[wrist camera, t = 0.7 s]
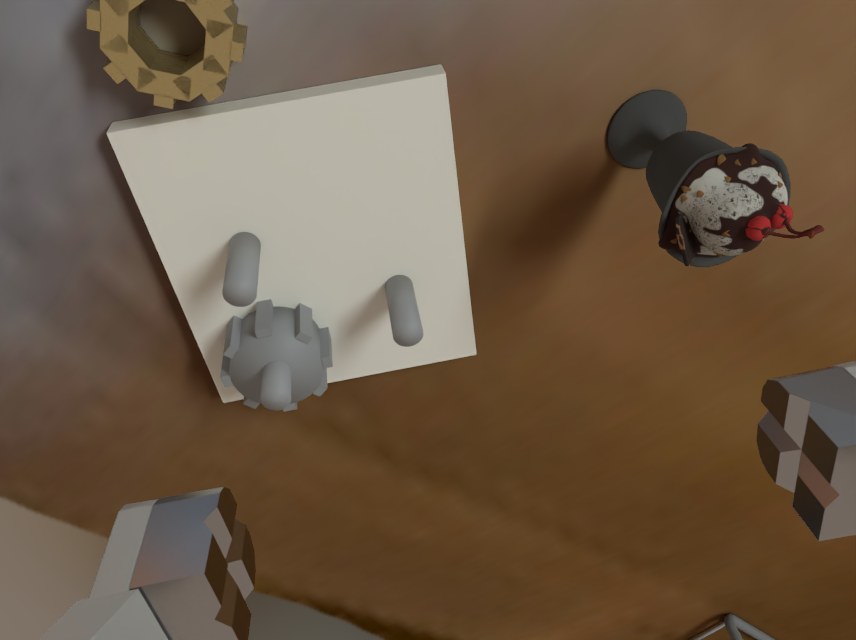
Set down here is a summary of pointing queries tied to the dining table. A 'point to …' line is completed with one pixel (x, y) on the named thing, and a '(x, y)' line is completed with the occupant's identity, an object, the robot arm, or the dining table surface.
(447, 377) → the dining table surface
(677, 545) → the dining table surface
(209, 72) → the gear
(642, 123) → the sundae
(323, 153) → the gear board
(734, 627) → the newton's cradle
